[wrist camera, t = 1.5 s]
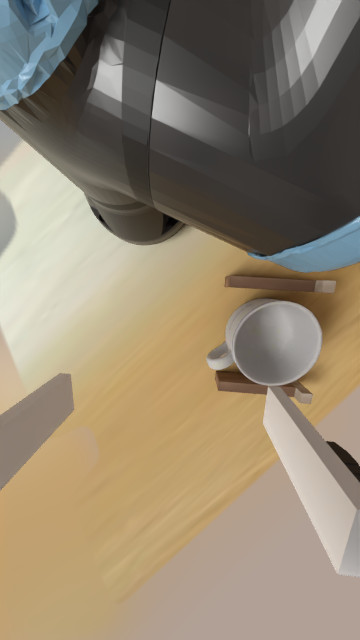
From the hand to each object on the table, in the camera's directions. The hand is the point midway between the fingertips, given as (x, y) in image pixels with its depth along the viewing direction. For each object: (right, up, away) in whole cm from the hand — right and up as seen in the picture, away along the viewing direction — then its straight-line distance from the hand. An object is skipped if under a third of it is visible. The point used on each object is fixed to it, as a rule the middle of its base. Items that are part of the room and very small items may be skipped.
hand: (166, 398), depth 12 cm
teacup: (+11, +3, +18) cm, 21 cm away
